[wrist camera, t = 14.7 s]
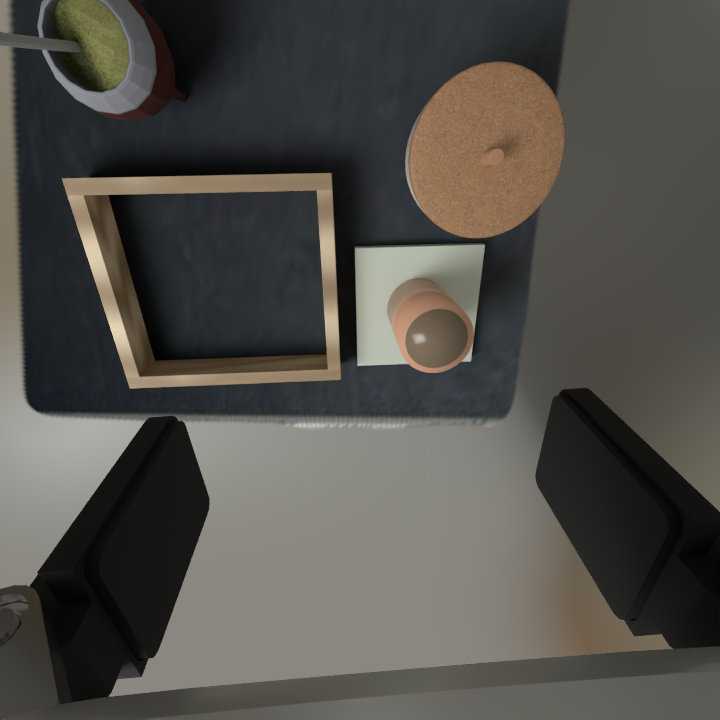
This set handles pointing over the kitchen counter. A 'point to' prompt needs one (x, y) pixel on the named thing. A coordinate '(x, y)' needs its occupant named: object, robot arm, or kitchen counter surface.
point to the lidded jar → (486, 149)
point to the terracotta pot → (429, 326)
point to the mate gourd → (105, 55)
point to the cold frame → (123, 303)
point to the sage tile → (397, 265)
